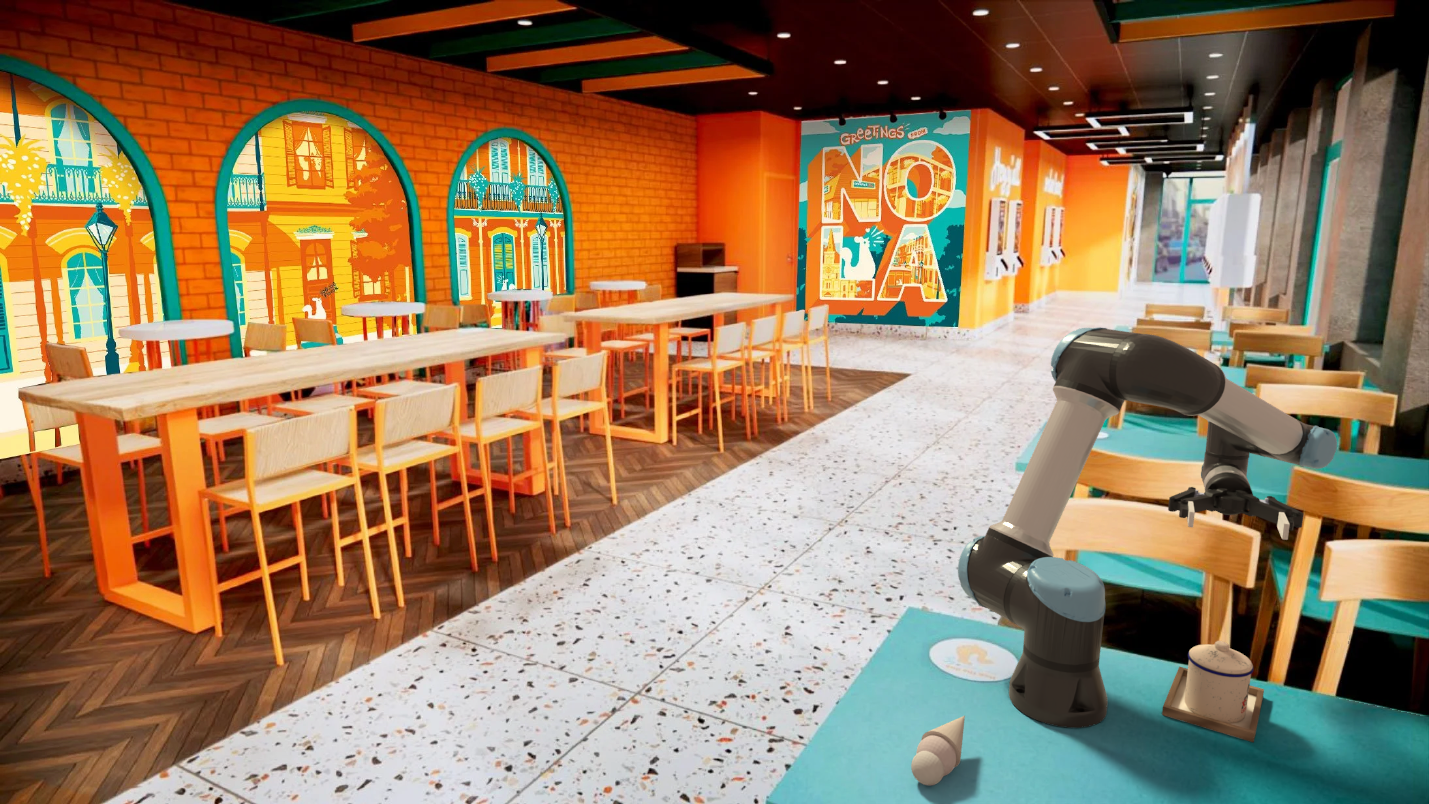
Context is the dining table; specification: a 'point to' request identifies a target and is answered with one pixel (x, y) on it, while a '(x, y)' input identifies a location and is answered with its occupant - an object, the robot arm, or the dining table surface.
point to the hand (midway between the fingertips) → (1237, 525)
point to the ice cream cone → (938, 752)
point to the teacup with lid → (1218, 682)
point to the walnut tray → (1240, 729)
